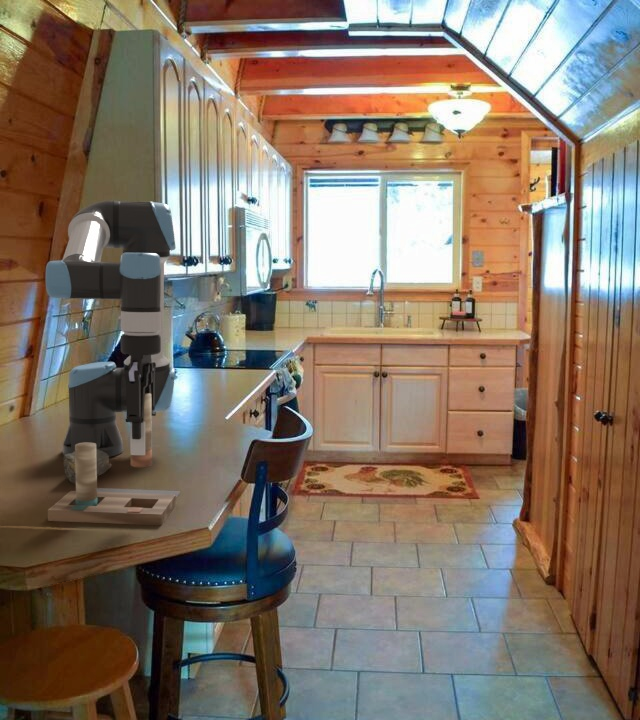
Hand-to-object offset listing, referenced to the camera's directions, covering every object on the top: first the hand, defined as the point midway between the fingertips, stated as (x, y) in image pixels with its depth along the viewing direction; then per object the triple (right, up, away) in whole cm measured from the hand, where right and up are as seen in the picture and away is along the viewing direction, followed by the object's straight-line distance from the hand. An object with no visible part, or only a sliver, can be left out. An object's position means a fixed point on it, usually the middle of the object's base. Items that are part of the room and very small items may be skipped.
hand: (141, 451), depth 146 cm
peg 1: (-11, -13, +2) cm, 17 cm away
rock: (-19, -10, +26) cm, 34 cm away
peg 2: (0, -3, 0) cm, 3 cm away
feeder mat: (-5, -11, +13) cm, 18 cm away
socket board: (-6, -13, +2) cm, 14 cm away
